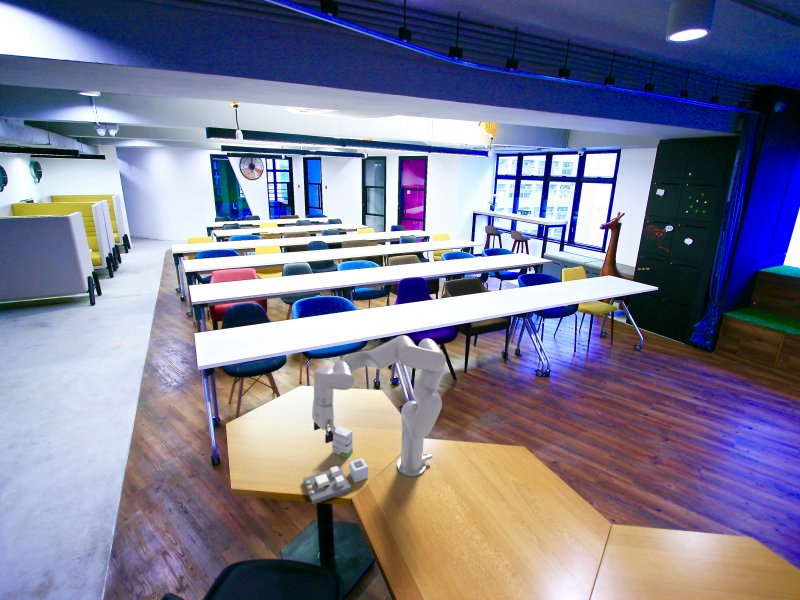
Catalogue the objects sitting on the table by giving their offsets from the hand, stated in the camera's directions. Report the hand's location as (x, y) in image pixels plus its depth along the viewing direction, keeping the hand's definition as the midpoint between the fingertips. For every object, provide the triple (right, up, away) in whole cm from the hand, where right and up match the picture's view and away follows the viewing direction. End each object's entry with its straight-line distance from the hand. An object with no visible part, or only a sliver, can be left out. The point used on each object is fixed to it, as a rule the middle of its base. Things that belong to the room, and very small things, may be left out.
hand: (323, 435), depth 165 cm
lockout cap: (+13, -21, +10) cm, 27 cm away
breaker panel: (+1, -22, +4) cm, 23 cm away
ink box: (+4, -16, +24) cm, 29 cm away
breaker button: (-1, -20, +2) cm, 20 cm away
